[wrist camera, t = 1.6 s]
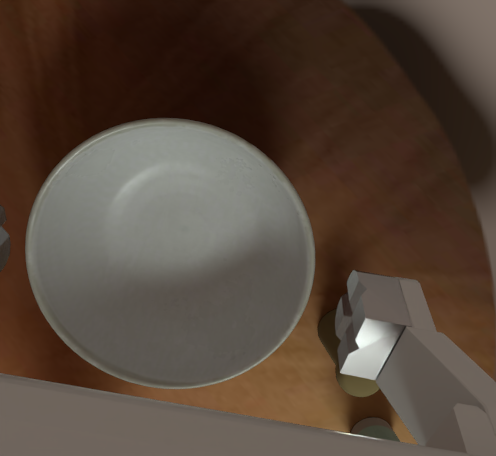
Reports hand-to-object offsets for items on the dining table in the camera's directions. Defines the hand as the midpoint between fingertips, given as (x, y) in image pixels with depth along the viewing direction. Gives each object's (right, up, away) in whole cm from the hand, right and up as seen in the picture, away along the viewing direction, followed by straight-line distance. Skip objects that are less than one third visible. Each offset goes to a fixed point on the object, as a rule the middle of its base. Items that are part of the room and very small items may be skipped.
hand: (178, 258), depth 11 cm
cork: (+14, -12, +48) cm, 51 cm away
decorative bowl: (-6, +1, +44) cm, 44 cm away
